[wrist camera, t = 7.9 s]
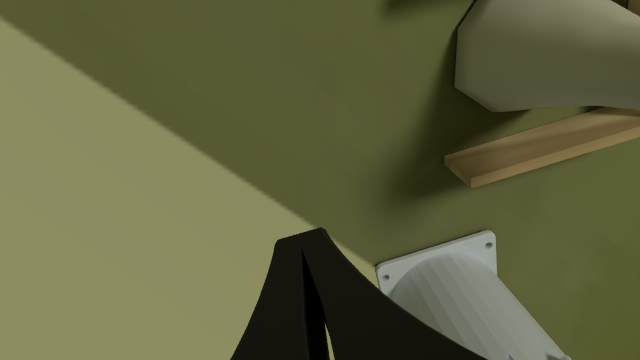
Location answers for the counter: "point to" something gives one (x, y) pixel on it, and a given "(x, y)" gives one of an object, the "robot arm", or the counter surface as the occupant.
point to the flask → (549, 54)
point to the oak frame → (546, 142)
